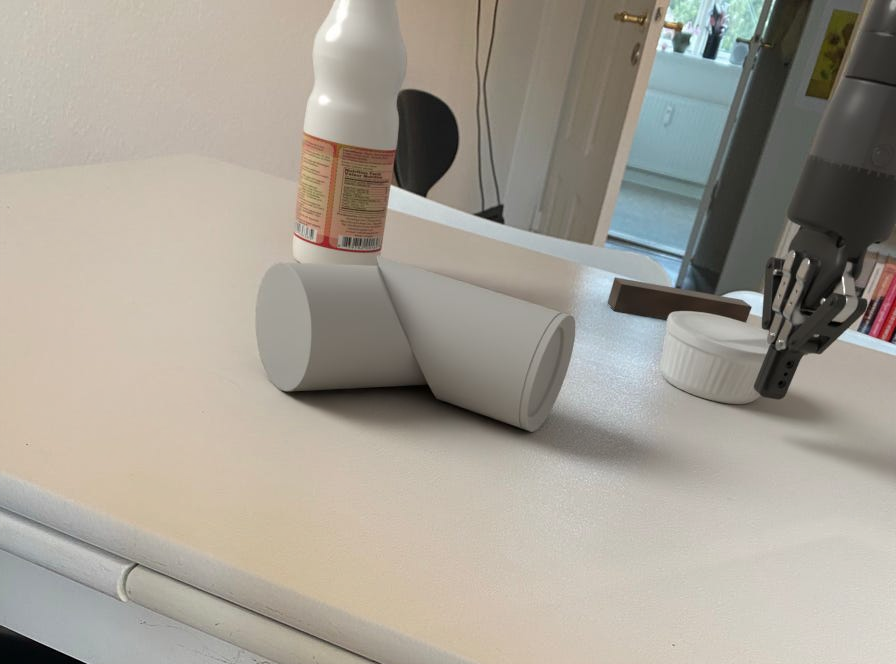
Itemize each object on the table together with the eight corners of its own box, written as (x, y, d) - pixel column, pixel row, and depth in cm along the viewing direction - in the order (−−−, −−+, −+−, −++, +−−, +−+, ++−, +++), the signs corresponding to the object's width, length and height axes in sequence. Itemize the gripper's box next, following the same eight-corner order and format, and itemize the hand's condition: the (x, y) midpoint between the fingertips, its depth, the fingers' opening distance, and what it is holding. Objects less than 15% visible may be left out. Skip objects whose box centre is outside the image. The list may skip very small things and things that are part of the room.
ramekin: (758, 420, 79) (782, 361, 76) (636, 381, 82) (655, 322, 79) (774, 391, 88) (797, 337, 85) (664, 356, 91) (682, 303, 88)
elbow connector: (452, 335, 79) (240, 338, 68) (495, 215, 72) (265, 197, 61) (569, 462, 70) (347, 488, 59) (631, 340, 63) (391, 345, 52)
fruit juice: (276, 260, 95) (305, -75, 79) (311, 247, 102) (344, -61, 87) (360, 283, 93) (406, -54, 78) (389, 268, 101) (437, -42, 85)
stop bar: (732, 325, 109) (742, 299, 107) (742, 332, 106) (752, 306, 104) (606, 303, 106) (614, 277, 104) (613, 310, 103) (621, 283, 102)
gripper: (963, 186, 60) (846, 433, 69) (866, 158, 70) (776, 374, 80) (861, 165, 58) (756, 419, 68) (778, 139, 69) (697, 361, 79)
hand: (767, 394), depth 74 cm, fingers closed
